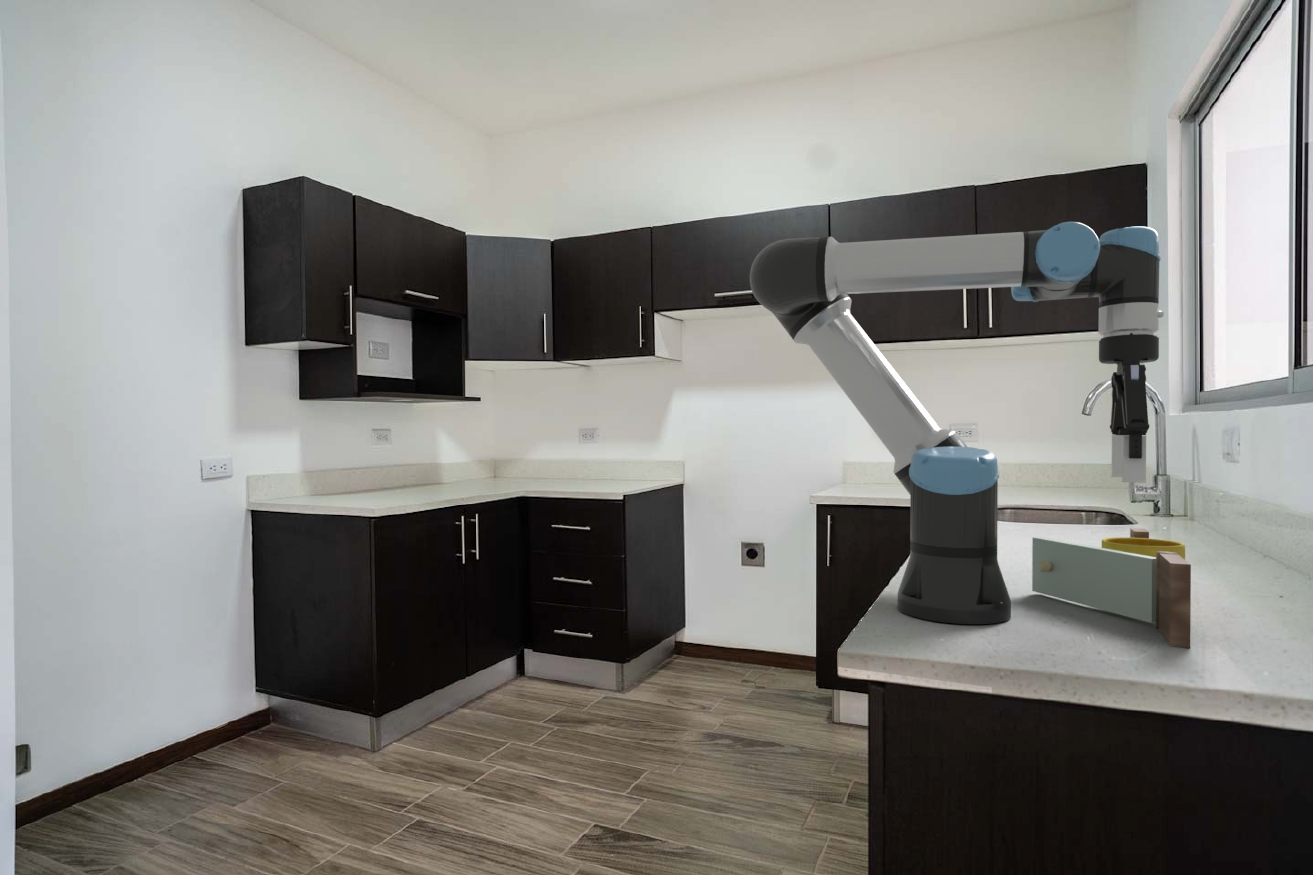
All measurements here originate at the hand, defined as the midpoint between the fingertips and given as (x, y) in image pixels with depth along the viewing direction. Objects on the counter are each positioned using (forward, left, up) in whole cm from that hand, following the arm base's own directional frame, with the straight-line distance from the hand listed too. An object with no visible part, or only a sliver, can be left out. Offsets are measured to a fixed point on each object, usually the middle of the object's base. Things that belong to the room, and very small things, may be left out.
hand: (1127, 479), depth 112 cm
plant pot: (+2, 0, -19) cm, 19 cm away
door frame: (+3, -4, -19) cm, 19 cm away
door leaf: (-5, -5, -18) cm, 20 cm away
